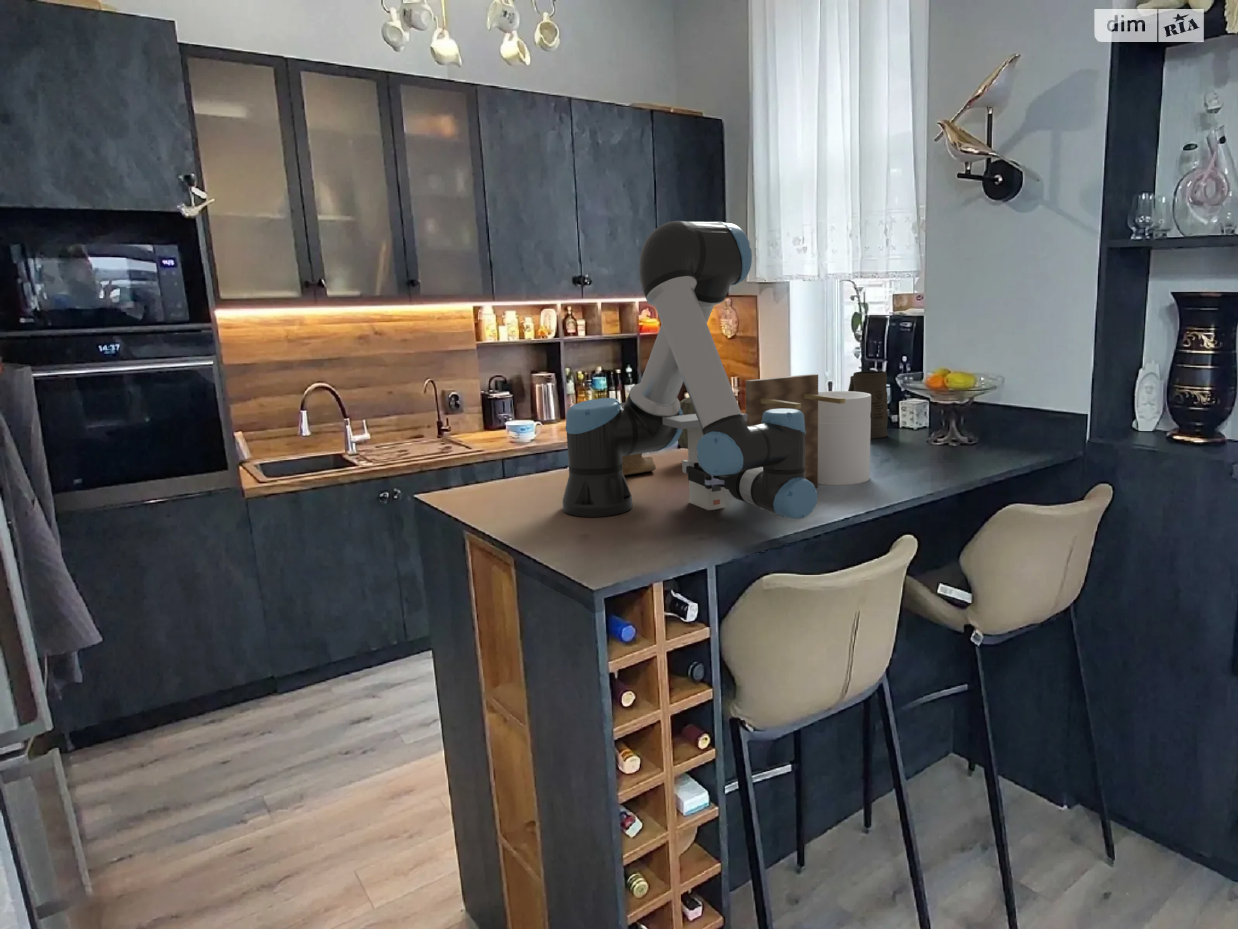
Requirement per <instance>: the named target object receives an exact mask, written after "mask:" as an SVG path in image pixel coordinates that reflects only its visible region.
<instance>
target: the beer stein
mask: <svg viewBox="0 0 1238 929" xmlns="http://www.w3.org/2000/svg"><path fill="white" fill-rule="evenodd" d="M849 377H850V381H849V385H848V388H847V389H848V391H852V392H864V393H869V394H871V413H870V418H871V431H870V440H871V439H881V438H882V439H883V438H885V437H887V436H888V430H887V427H888V417H889V413H888V404H889V403H888V401H889V399H888V389H887V384H888V382H887V380H888V376H887V371H883V370H870V371H869V370H866V371H857V372H854V373H853V375H851V376H849Z"/></svg>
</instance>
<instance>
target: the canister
mask: <svg viewBox="0 0 1238 929" xmlns="http://www.w3.org/2000/svg"><path fill="white" fill-rule="evenodd" d="M818 395H824V396H832V397H839V398H845V403H842V404H838V403H831V402H824V401H818V485H824V486H849V485H858V484H864V483H865V482H867V481H870V478H871V477H870V474H871V469H870V468H871V439H870V431H871V418H870V413H871V394H869V393H864V392H852V391H847V390H842V391H841V390H839V391H838V390H831V391H830V390H829V391H818Z"/></svg>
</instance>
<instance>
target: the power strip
mask: <svg viewBox="0 0 1238 929" xmlns="http://www.w3.org/2000/svg"><path fill="white" fill-rule="evenodd" d="M741 414H742V416H743V418H744V420H745V422H746V421H747V414H746V413H742V412H741ZM663 425H667V426H671V427H675V428H678V429H687V428H688V449H687V458H688V459H687V461H690V462H693V463H699V462H698V459H697V455H698V451H697V444H698V441H699V440H700V438H701V437H702V436H703V432H702V429H701V426H700V424H699V421H698V418H697V416H696V414H689V415H681V416H672V417H663ZM700 467H701V466H700ZM688 496H689V497H688V499H689V503H690V504H691V505H694V506H697V507H699V508H702V509H704V510H706V511H712V510H718V509H725V506H726V504H725V502H726V501H725V488H724V487H720V486H717V485H713V487H712V488H711V489H706V488H705V486H702V485H700V484H697V483H695V482H692V481H690V480H688Z"/></svg>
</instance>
